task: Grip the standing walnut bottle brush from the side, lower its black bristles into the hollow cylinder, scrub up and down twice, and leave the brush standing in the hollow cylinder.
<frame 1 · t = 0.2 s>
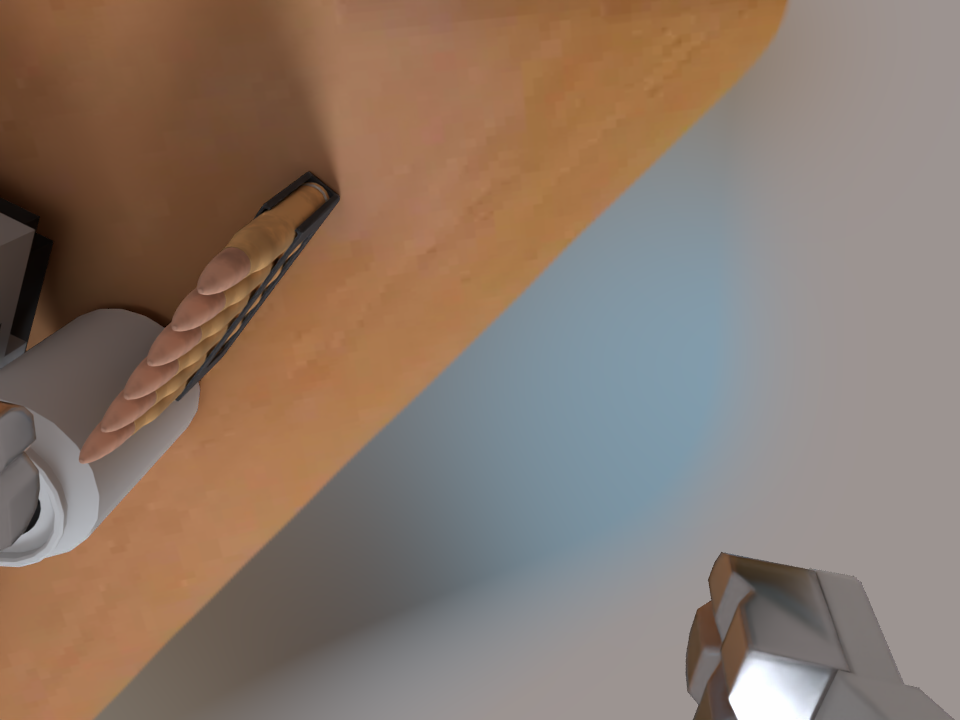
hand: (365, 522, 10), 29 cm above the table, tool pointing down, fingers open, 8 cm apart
ammunition clip: (263, 268, 41), on the table
can: (138, 369, 44), on the table
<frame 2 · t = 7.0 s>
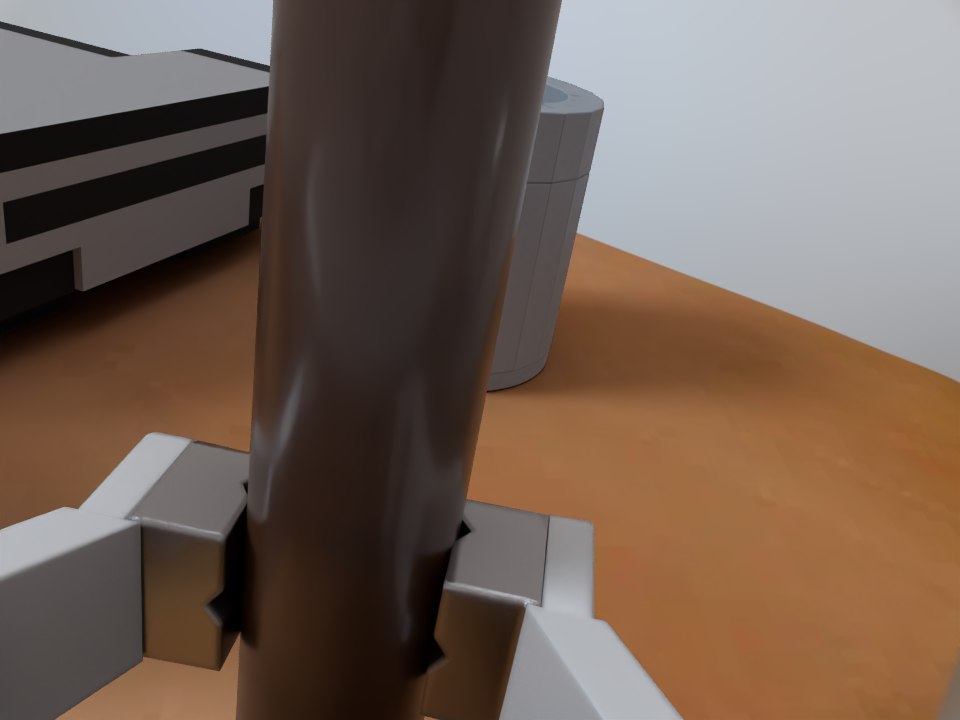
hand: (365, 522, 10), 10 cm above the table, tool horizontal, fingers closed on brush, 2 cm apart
hollow cylinder: (439, 337, 38), on the table
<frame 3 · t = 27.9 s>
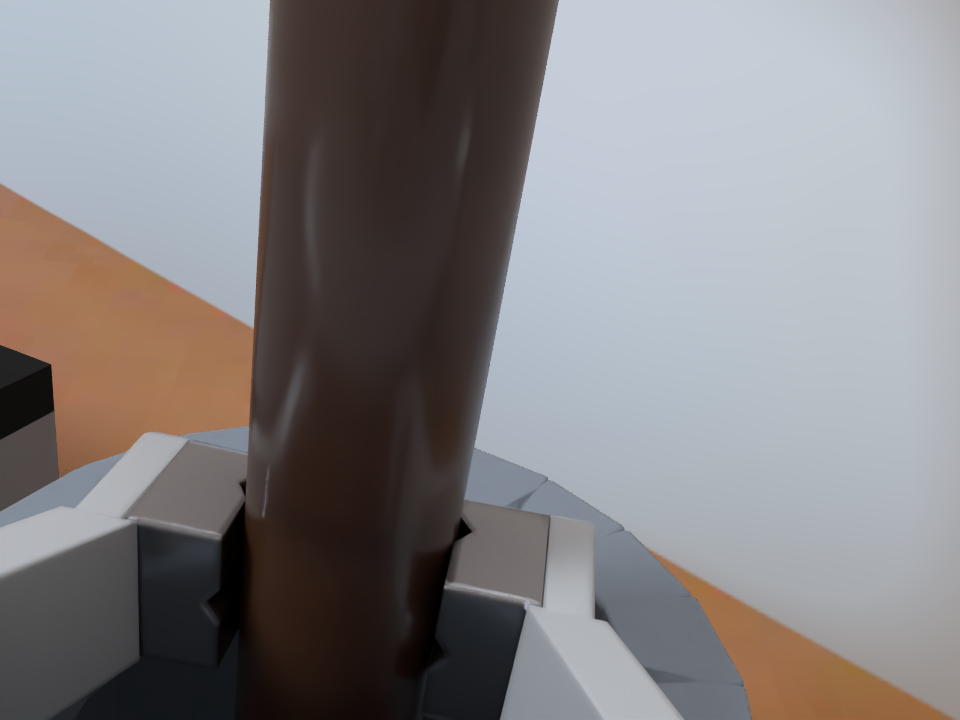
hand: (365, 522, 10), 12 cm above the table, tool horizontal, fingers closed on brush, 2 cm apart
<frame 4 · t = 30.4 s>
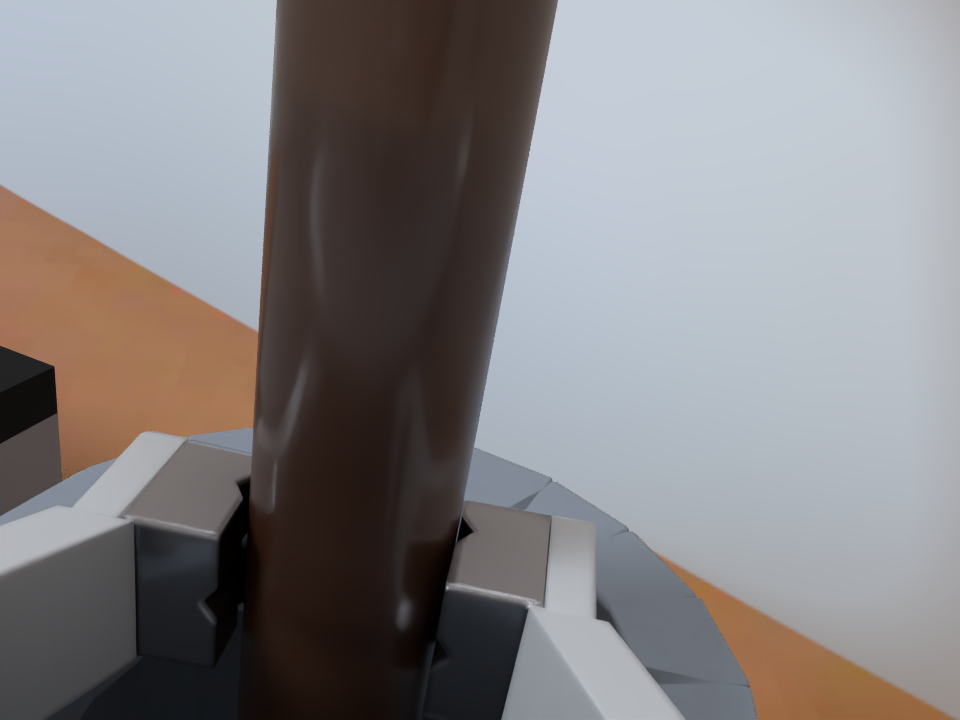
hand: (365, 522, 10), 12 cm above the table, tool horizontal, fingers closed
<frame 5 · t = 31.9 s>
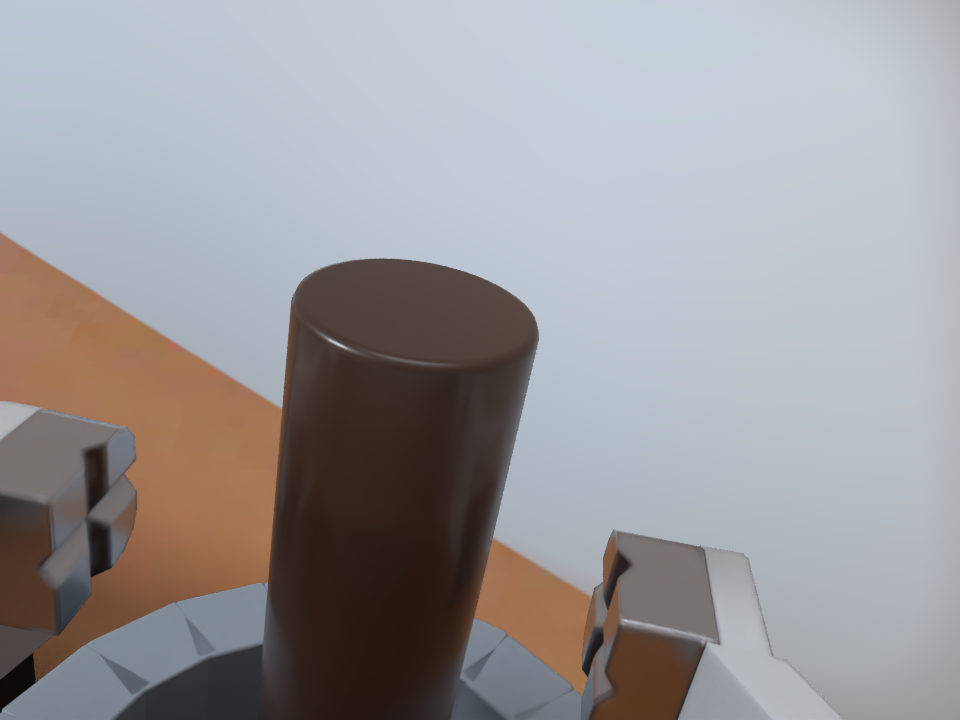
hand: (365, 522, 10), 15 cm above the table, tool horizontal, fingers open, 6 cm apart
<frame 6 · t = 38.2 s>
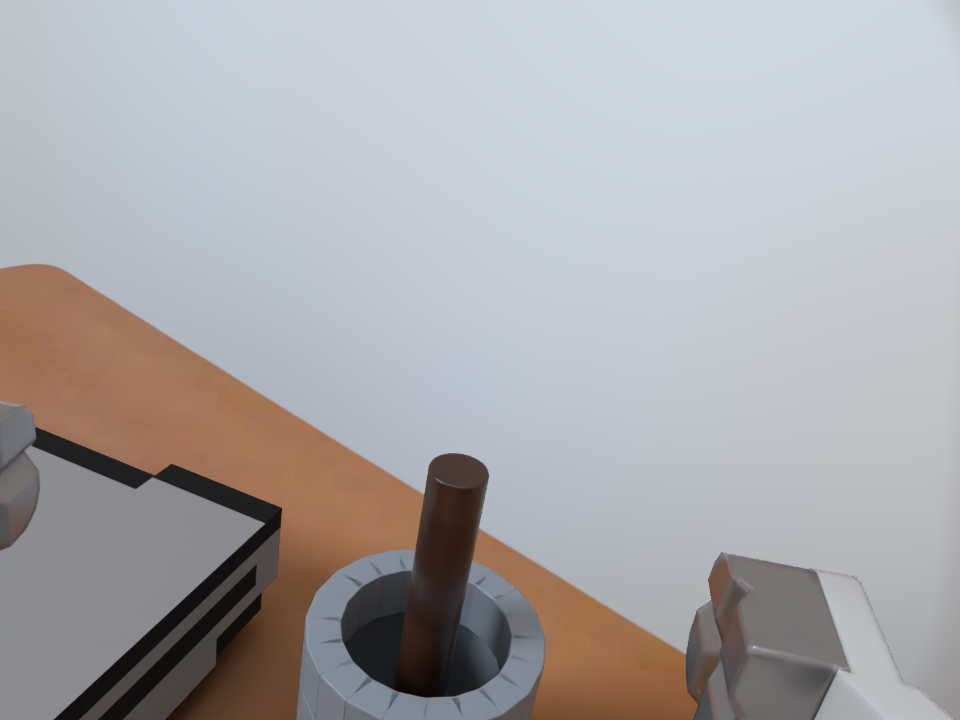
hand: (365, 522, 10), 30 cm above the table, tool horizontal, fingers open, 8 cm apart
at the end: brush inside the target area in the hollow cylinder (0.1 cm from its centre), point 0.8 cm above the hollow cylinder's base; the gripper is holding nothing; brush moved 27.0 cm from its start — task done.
